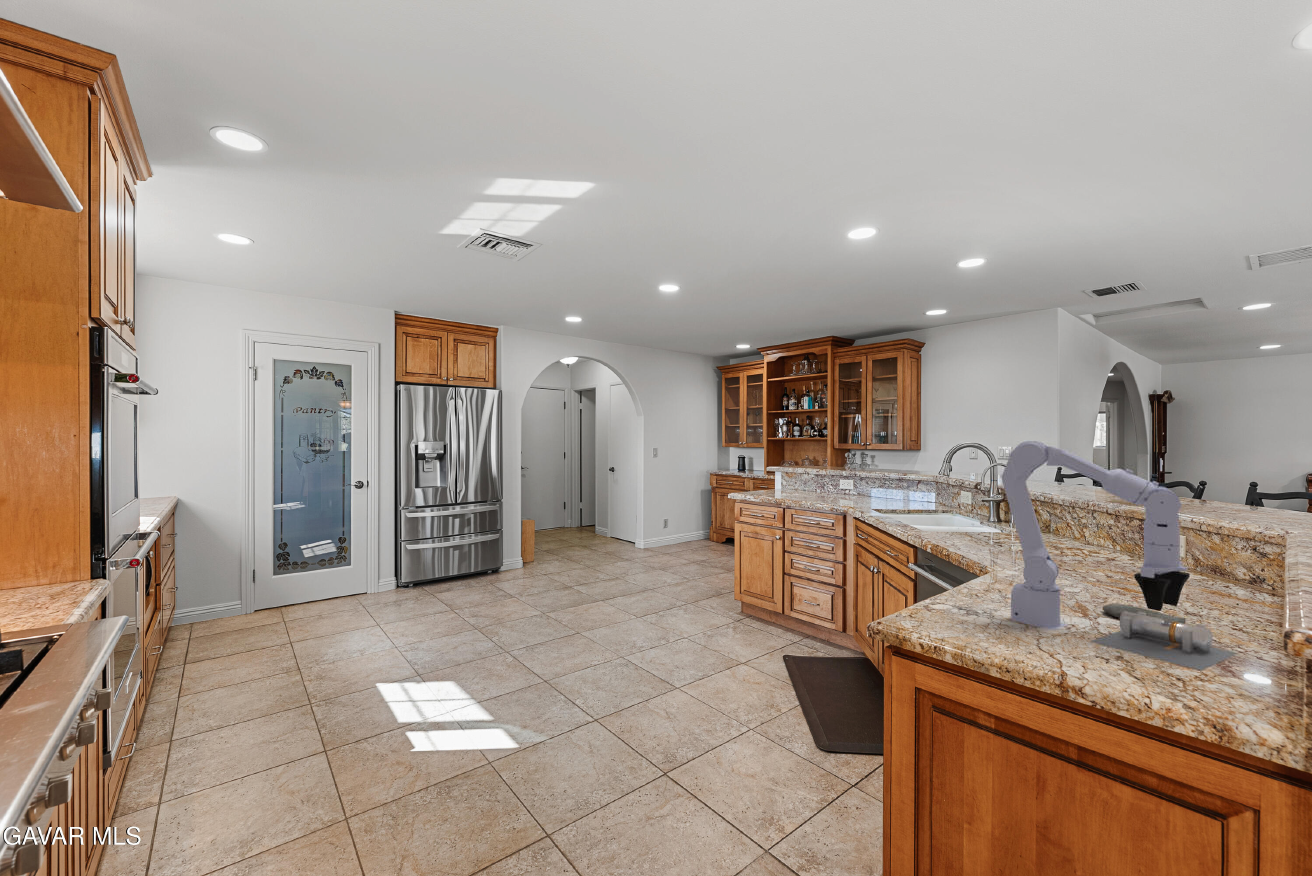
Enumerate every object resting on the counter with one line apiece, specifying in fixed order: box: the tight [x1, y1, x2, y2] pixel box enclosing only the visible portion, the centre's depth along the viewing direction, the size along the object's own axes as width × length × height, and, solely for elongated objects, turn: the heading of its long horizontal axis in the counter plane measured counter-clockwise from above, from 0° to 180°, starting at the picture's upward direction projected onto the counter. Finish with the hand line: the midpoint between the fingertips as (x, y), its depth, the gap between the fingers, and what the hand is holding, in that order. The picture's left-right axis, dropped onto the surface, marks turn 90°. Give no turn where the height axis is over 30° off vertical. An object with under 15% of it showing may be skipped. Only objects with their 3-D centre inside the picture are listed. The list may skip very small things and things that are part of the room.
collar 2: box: [1182, 623, 1207, 654], centre depth 114 cm, size 1×8×4 cm, turn 118°
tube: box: [1119, 611, 1214, 651], centre depth 119 cm, size 14×4×4 cm, turn 28°
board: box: [1089, 629, 1238, 672], centre depth 116 cm, size 18×18×1 cm
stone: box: [1102, 603, 1186, 624], centre depth 135 cm, size 11×4×15 cm
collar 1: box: [1123, 612, 1146, 639], centre depth 123 cm, size 1×8×4 cm, turn 118°
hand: (1162, 607), depth 119 cm, fingers open, 7 cm apart
